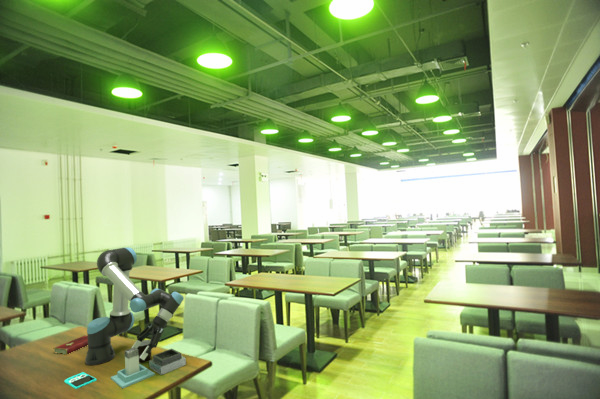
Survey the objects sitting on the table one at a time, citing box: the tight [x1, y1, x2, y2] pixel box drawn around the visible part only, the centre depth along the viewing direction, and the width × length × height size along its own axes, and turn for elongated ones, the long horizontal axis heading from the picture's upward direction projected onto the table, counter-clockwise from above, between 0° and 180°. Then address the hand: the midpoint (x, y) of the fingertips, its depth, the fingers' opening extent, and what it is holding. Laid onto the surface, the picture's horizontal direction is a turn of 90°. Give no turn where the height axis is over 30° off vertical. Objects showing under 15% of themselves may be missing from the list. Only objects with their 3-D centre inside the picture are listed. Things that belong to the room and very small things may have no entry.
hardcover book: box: [53, 334, 88, 355], centre depth 225 cm, size 12×21×4 cm, turn 159°
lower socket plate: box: [110, 363, 156, 389], centre depth 178 cm, size 16×16×4 cm
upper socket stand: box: [148, 348, 187, 376], centre depth 188 cm, size 14×14×6 cm
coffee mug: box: [137, 339, 152, 364], centre depth 199 cm, size 12×9×10 cm
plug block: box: [124, 347, 140, 376], centre depth 178 cm, size 5×5×13 cm
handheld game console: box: [64, 371, 98, 390], centre depth 178 cm, size 10×16×1 cm, turn 55°
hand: (136, 355), depth 179 cm, fingers open, 13 cm apart
